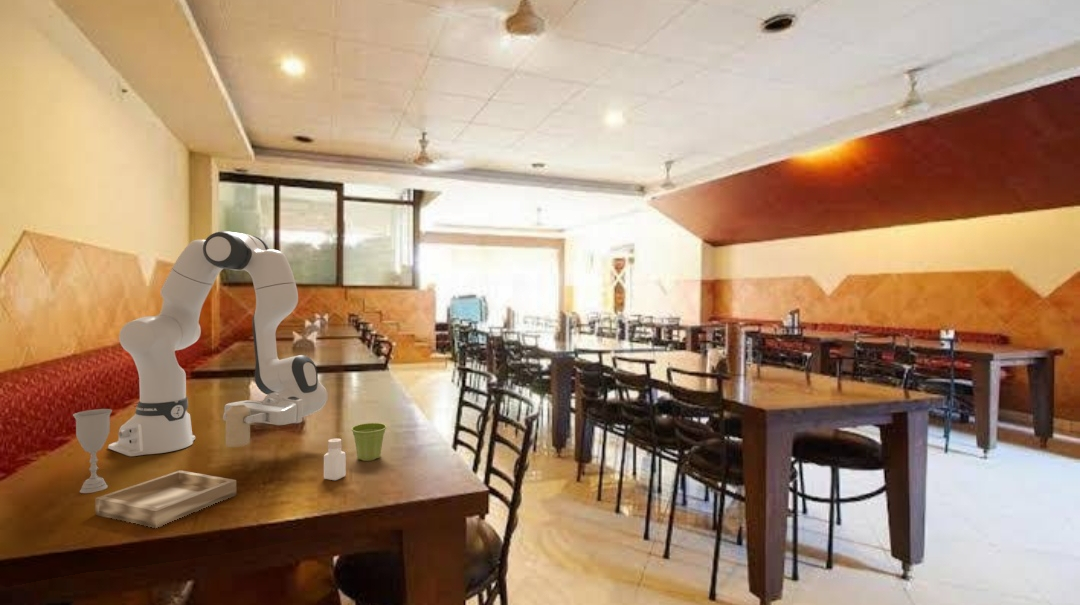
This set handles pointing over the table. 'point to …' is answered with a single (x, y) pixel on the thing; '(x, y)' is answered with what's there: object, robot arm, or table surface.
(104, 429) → the chalice
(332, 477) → the salt shaker
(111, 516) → the tray
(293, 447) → the table surface
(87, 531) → the table surface
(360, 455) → the plant pot
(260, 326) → the robot arm
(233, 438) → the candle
